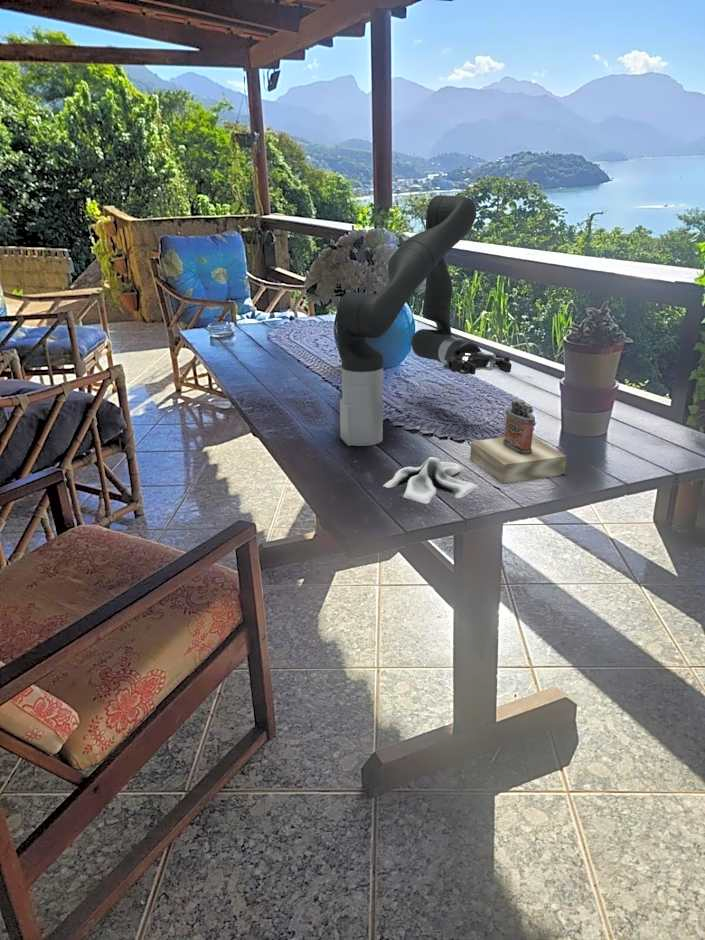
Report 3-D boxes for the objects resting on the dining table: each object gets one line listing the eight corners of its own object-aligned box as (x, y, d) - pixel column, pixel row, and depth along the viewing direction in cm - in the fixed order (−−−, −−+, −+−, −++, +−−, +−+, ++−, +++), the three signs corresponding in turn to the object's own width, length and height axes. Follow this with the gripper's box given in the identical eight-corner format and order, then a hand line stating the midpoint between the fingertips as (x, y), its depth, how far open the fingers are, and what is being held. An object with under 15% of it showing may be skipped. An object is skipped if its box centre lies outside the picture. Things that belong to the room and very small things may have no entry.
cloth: (452, 461, 143) (453, 434, 141) (498, 495, 127) (500, 465, 125) (355, 476, 136) (355, 448, 134) (391, 513, 120) (391, 482, 118)
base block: (502, 483, 130) (504, 464, 129) (470, 458, 143) (471, 441, 141) (564, 474, 134) (566, 456, 133) (527, 451, 147) (529, 434, 145)
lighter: (499, 443, 140) (503, 397, 136) (513, 441, 141) (517, 395, 137) (521, 456, 133) (525, 408, 129) (535, 453, 134) (540, 406, 130)
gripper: (432, 340, 156) (463, 353, 141) (487, 338, 160) (522, 350, 145) (431, 372, 159) (461, 387, 144) (484, 369, 163) (519, 384, 148)
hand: (491, 369), depth 145 cm, fingers open, 8 cm apart
